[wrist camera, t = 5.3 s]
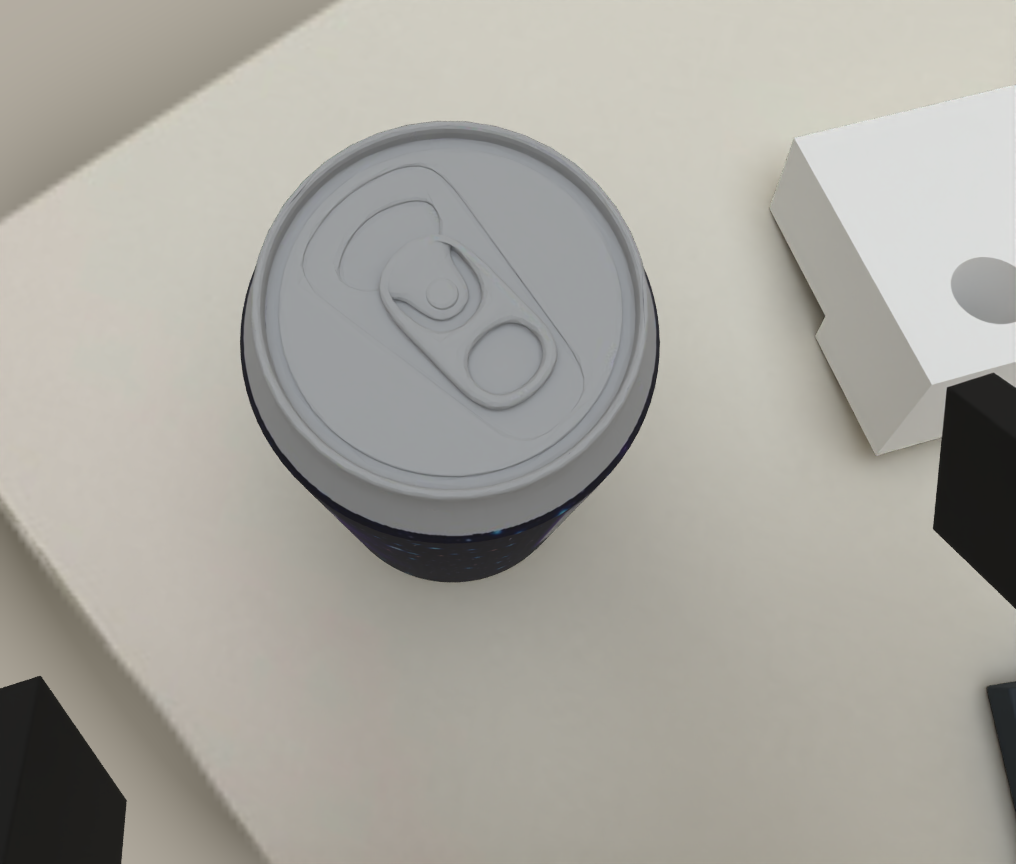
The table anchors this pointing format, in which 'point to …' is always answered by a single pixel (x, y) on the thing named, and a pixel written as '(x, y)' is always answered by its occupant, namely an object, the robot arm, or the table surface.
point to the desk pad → (1006, 726)
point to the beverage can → (450, 343)
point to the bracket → (909, 255)
